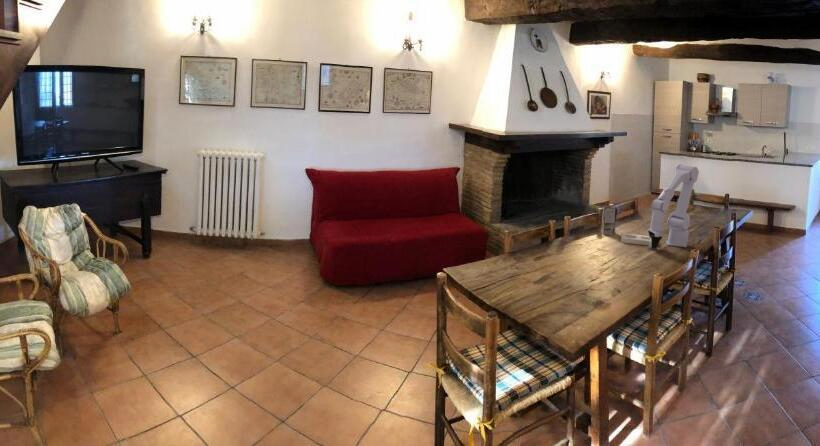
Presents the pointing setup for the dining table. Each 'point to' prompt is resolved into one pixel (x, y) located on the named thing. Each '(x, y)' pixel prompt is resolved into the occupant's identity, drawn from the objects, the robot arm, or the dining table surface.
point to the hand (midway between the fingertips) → (653, 246)
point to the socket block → (635, 239)
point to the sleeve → (651, 246)
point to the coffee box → (608, 220)
